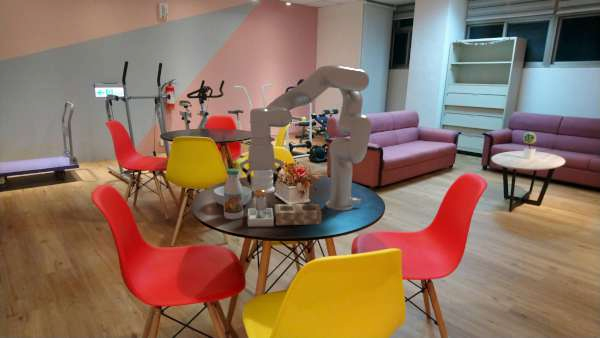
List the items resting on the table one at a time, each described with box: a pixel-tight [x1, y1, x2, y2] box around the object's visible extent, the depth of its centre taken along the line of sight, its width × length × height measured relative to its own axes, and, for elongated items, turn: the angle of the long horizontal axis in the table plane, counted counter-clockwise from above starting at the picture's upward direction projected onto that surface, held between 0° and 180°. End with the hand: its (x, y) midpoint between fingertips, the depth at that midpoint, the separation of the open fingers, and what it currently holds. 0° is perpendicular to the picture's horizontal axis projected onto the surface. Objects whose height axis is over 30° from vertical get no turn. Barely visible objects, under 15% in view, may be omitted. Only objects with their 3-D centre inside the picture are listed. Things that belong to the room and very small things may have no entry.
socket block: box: [274, 203, 323, 226], centre depth 151 cm, size 18×10×6 cm, turn 97°
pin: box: [255, 189, 267, 219], centre depth 148 cm, size 4×4×12 cm
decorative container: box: [251, 170, 276, 195], centre depth 187 cm, size 12×12×18 cm
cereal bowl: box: [213, 185, 253, 207], centre depth 166 cm, size 17×17×7 cm
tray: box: [247, 207, 275, 228], centre depth 150 cm, size 10×12×3 cm
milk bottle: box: [223, 168, 244, 220], centre depth 151 cm, size 8×8×20 cm
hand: (262, 183), depth 147 cm, fingers open, 9 cm apart
